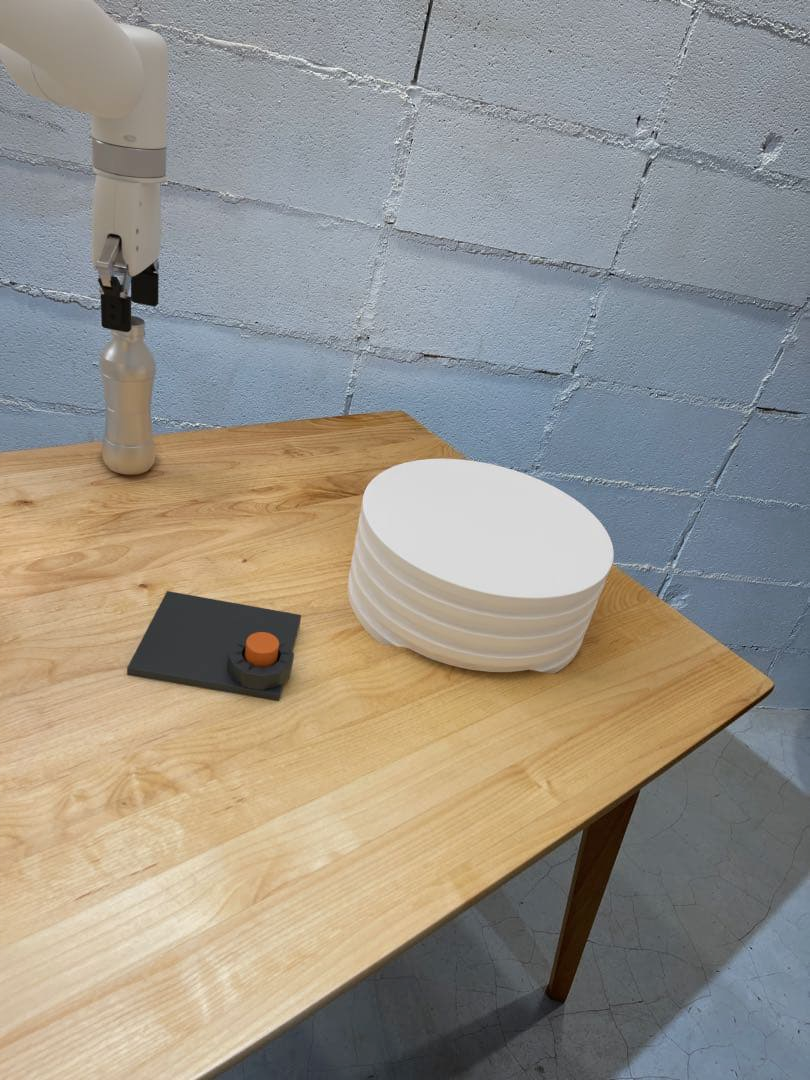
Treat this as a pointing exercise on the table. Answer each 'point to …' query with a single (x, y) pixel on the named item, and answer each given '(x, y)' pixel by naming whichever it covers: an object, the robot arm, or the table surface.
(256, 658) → the button
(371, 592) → the plate stack
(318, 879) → the table surface
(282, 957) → the table surface
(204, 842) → the table surface
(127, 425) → the plastic bottle
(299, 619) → the scale
